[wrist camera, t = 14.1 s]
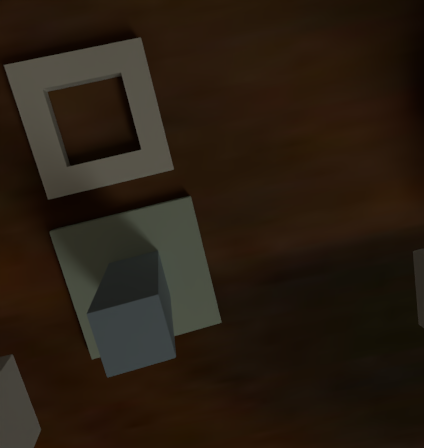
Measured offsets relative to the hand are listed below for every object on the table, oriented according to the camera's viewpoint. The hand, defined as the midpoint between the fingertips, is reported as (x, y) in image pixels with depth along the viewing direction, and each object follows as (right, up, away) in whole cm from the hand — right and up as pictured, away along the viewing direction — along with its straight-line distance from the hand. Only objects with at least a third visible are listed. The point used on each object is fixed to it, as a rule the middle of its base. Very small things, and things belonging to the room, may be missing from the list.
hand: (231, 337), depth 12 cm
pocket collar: (-12, +13, +23) cm, 29 cm away
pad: (-8, -2, +27) cm, 28 cm away
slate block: (-8, -2, +26) cm, 27 cm away
